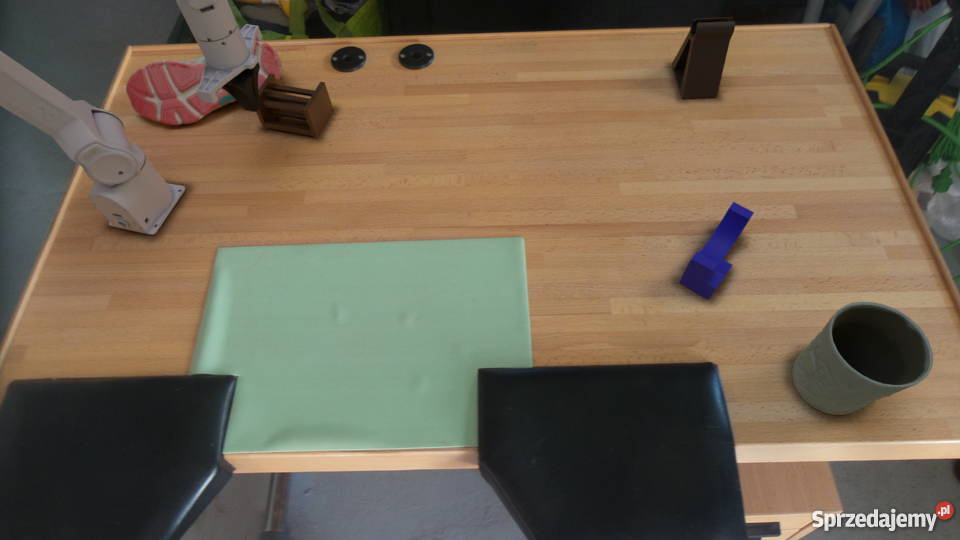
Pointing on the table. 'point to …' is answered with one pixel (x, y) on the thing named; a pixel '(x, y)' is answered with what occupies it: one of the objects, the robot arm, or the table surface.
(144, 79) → the athletic shoe
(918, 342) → the grey plant pot
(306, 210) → the table surface
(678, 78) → the phone stand
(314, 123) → the shoe rack
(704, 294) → the blue angled block
